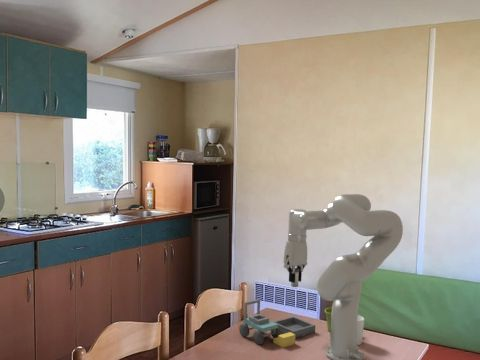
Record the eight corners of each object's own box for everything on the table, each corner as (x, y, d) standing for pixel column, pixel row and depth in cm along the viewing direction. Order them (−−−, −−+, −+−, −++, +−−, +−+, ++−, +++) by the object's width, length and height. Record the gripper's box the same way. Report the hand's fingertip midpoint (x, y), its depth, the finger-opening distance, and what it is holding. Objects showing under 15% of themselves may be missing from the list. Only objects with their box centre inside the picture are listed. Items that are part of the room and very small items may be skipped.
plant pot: (319, 330, 193) (320, 310, 192) (331, 325, 199) (332, 305, 199) (338, 337, 186) (339, 316, 186) (350, 331, 193) (351, 311, 192)
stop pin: (300, 286, 190) (301, 269, 190) (294, 287, 188) (295, 270, 188) (294, 284, 193) (295, 267, 193) (288, 285, 191) (289, 268, 191)
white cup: (339, 339, 183) (340, 315, 183) (354, 337, 187) (355, 313, 186) (351, 347, 176) (352, 322, 176) (367, 344, 179) (368, 319, 179)
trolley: (281, 340, 180) (282, 307, 179) (261, 346, 174) (262, 311, 173) (258, 329, 191) (259, 298, 190) (239, 334, 185) (240, 302, 184)
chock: (295, 344, 177) (295, 334, 177) (282, 348, 173) (283, 338, 173) (285, 339, 182) (285, 330, 182) (273, 343, 178) (273, 333, 178)
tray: (315, 332, 190) (315, 325, 190) (293, 338, 182) (293, 331, 182) (293, 322, 200) (293, 316, 200) (271, 328, 192) (271, 321, 192)
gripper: (304, 235, 198) (302, 276, 198) (276, 238, 187) (274, 282, 188) (316, 238, 192) (314, 281, 193) (289, 241, 182) (287, 286, 182)
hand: (295, 281), depth 190 cm, fingers closed on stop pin, 3 cm apart
